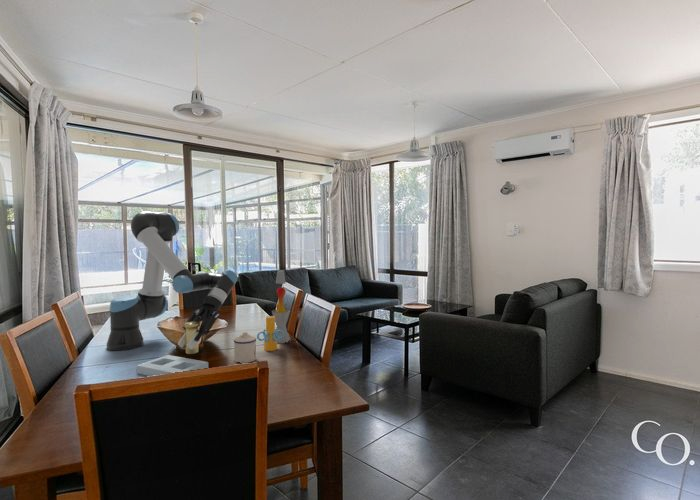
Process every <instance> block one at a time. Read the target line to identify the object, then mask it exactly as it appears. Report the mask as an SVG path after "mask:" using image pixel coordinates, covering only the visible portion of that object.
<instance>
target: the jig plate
mask: <svg viewBox="0 0 700 500" xmlns="http://www.w3.org/2000/svg"><path fill="white" fill-rule="evenodd" d="M204 368H208V369H209V362H208V361H204V360H197V359H193V358H189V357H188V358H186V357H182V356H177V355H176V356H175V355H170V354H167V355H164V356H161V357H158V358H155V359H152V360H149V361H146V362H143V363H139V364H136V374H139V375H144V376H149V377H151V376H150V375H160V374H168V373H175V372H183V371H190V370H197V369H204Z"/></svg>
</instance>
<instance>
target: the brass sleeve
mask: <svg viewBox="0 0 700 500" xmlns="http://www.w3.org/2000/svg"><path fill="white" fill-rule="evenodd" d="M186 322H187V321H186ZM186 322H185V323H183V327H186V343H185V353H186V354H187V355H194V354H197V353H199V341H198V342H197V343H196V344H195V346H194V347H193V349H190V348H189V347H188V346H187V345H188V344H189V342H190V340H191V339H192V337H193V336H194V334H195V333H196V332H198V331H197V330H199V327H200V326H201V321H200V322H187V323H186Z"/></svg>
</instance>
